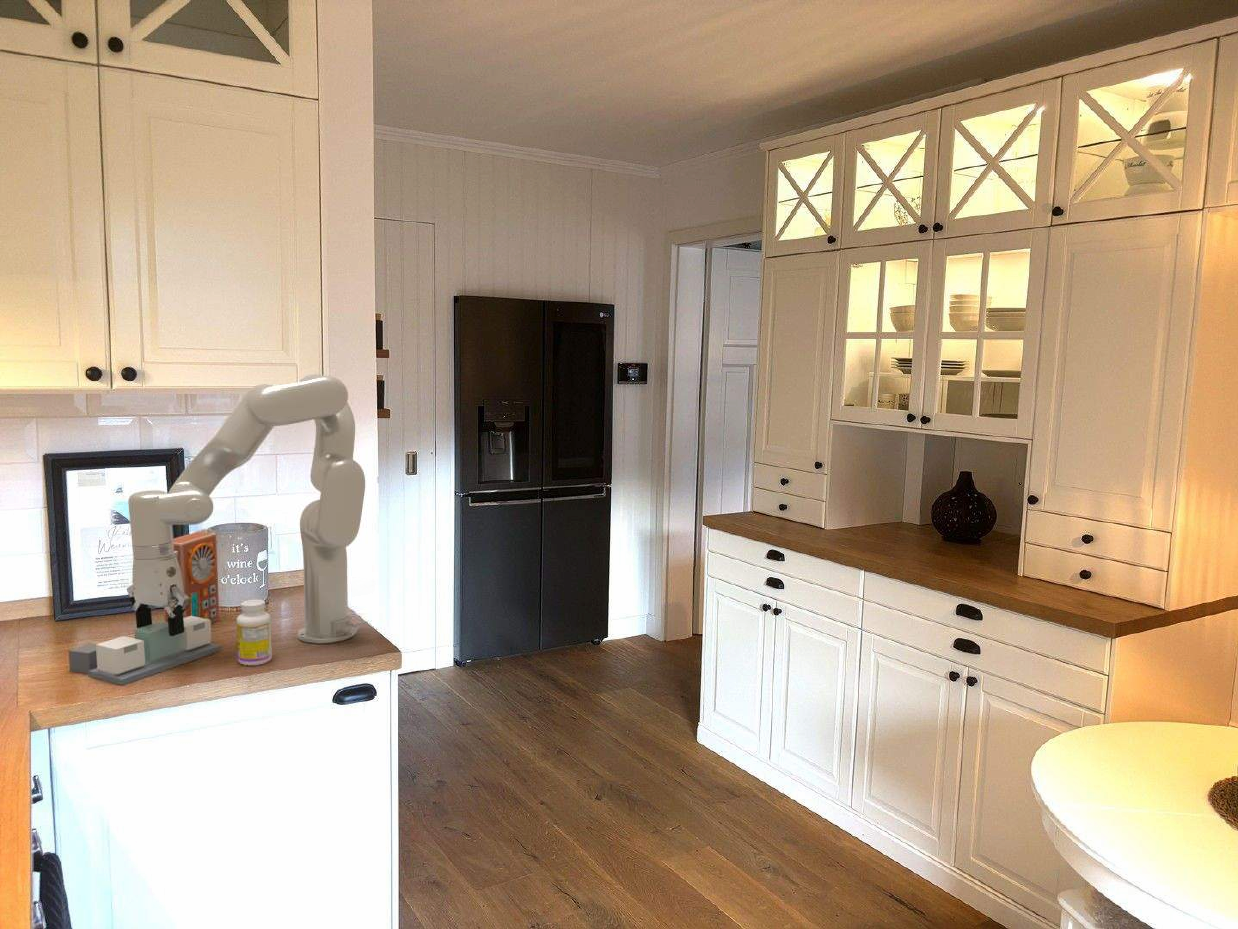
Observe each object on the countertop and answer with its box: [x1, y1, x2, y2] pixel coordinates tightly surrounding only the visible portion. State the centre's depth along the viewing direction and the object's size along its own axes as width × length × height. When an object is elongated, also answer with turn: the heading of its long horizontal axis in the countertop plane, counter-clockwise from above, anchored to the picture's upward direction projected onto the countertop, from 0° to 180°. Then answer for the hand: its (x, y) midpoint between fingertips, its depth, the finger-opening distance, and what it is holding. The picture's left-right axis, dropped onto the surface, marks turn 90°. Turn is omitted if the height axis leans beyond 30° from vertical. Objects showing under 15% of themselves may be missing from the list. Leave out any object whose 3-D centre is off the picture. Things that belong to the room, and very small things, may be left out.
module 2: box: [134, 620, 178, 661], centre depth 186 cm, size 4×6×6 cm
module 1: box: [68, 642, 97, 675], centre depth 182 cm, size 5×5×4 cm
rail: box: [100, 643, 209, 676], centre depth 186 cm, size 4×22×1 cm, turn 155°
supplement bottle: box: [236, 598, 273, 666], centre depth 188 cm, size 7×7×13 cm
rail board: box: [88, 642, 221, 686], centre depth 186 cm, size 10×23×1 cm, turn 155°
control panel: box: [163, 531, 221, 624], centre depth 209 cm, size 21×7×15 cm
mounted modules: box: [95, 616, 212, 674], centre depth 186 cm, size 6×22×5 cm, turn 155°
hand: (160, 631), depth 186 cm, fingers open, 9 cm apart
